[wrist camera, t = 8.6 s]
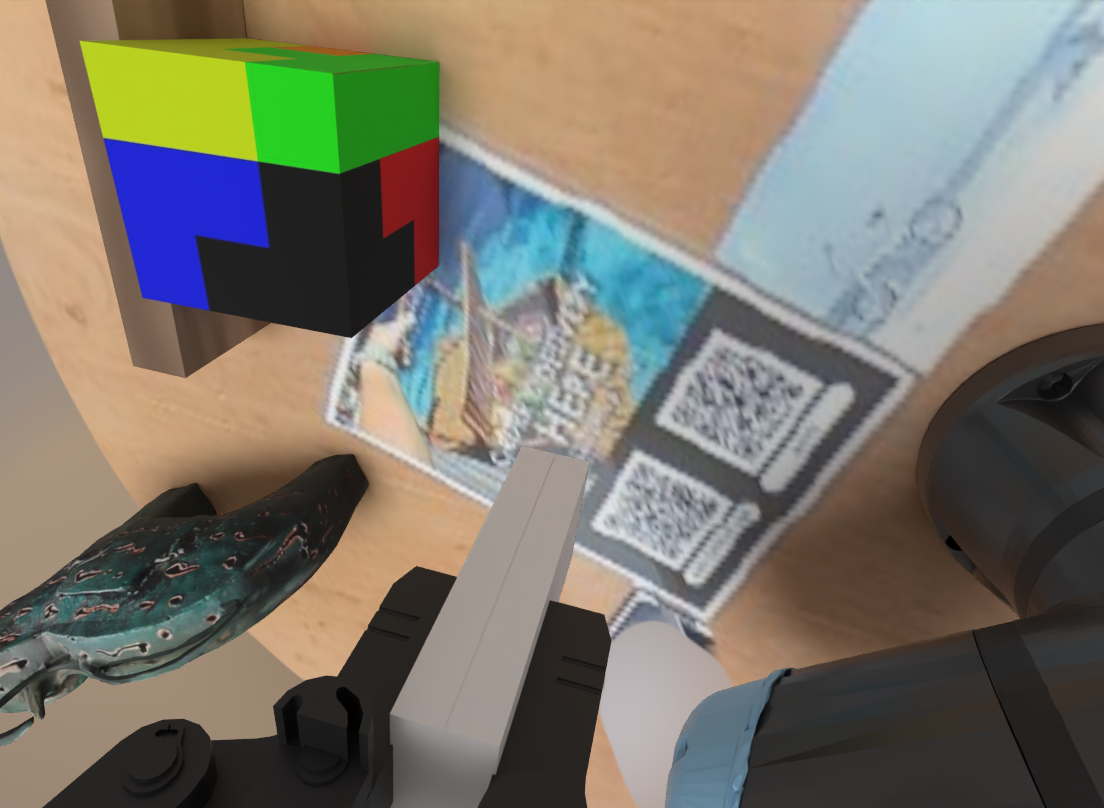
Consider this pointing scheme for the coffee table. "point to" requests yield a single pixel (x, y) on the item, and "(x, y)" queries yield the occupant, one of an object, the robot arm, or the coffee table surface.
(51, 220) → the coffee table surface
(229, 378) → the coffee table surface
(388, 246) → the puzzle toy
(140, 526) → the ceramic cat
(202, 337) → the walnut board
